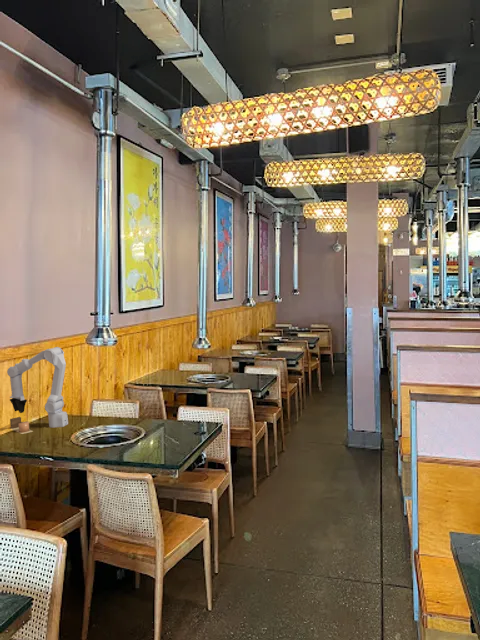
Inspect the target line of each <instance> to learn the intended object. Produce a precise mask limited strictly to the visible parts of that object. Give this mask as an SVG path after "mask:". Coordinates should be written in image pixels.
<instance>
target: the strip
mask: <svg viewBox="0 0 480 640" xmlns="http://www.w3.org/2000/svg"><path fill="white" fill-rule="evenodd" d="M9 421H10V422H9V423H10V427H9V429H11V430H12V431H14V432H17V433H19V434H21V435H23V434H28V433H32V432H34V431H33V430H31V429H30V428H29V431H27V432H19V425H18V423H21V422H22V417H21V416H19V417H18V416H17V417H12V418H10V419H9Z"/></svg>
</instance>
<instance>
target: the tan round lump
mask: <svg viewBox="0 0 480 640" xmlns="http://www.w3.org/2000/svg"><path fill="white" fill-rule="evenodd" d="M18 425H19V432H27V431H29V429H30V422H29V421H21V423H18Z"/></svg>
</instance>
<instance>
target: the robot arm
mask: <svg viewBox="0 0 480 640" xmlns="http://www.w3.org/2000/svg"><path fill="white" fill-rule="evenodd" d="M64 354H65V352H64V350H63V349H62V348H61V347H59V346H56V347H51V348H46V349H44V350H42V351H41V352H38V353H37V354H35V356H33V357H31V358H30V359H29V358H23V359H21V361H20V362H19V363H15V364H14V366H9V368H7V373H6V374H7V375H8V376H9V378H10V379H9V380H10V388H11V395H10V396H9V398H10V399H9V401H10V403H11V404H12V407H13V411H14V412H19V414H22V413H24V412H25V410H26V409H25V407H26V403H27V402H28V399H25V396H24V387H23V374H24V373H25V372H27V371H29V370H30V369H32V368H33V365H35V364H36V363H39V362H40V361H42V360H46V361H47V362H49V363H50V364H52V365H53V367H54V370H53V377H52V382H51V389H50V394H49V397H47V400H46V403H45V405H44V410H45V411H46V413H47V415H48V427H49V428H63V427H65V426H67V425H69V419H68V417H69V416H68V413H67V411H63V408H64V407H65V402H64V396H63V395H62V392H63V385H64V379H65V372H66V368H67V366H66V365H67V363H66V359H65V356H64Z"/></svg>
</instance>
